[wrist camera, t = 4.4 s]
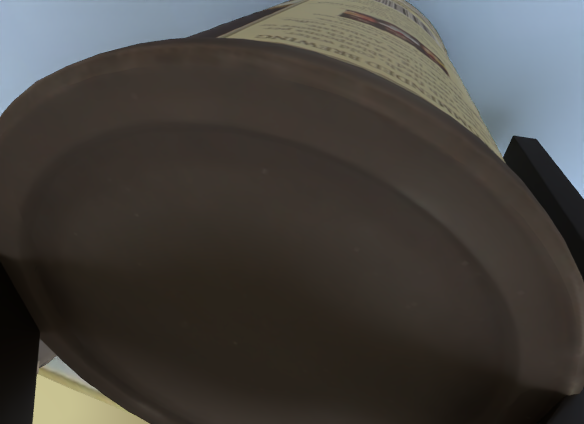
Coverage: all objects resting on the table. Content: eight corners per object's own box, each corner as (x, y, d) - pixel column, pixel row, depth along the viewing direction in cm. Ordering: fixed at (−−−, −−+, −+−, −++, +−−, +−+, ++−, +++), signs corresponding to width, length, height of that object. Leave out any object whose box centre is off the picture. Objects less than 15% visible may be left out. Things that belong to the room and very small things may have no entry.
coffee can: (252, 187, 22) (94, 428, 10) (230, -14, 16) (-184, 41, 5) (431, 205, 19) (476, 536, 8) (482, -21, 14) (886, 52, 2)
